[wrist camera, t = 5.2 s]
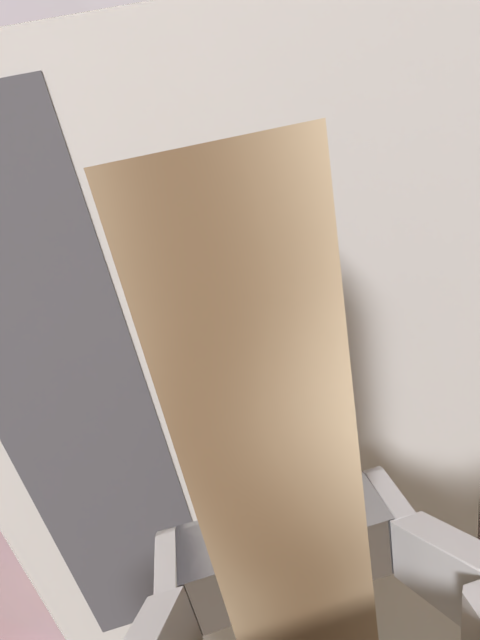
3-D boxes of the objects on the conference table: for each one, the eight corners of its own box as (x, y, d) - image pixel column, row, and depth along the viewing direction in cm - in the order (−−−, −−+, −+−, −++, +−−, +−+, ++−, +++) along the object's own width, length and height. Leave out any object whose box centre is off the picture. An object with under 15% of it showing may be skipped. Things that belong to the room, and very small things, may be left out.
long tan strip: (256, 139, 9) (325, 117, 5) (338, 641, 15) (393, 789, 12) (118, 169, 8) (83, 168, 5) (264, 667, 15) (296, 826, 11)
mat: (493, -55, 11) (506, -63, 11) (465, 700, 25) (470, 709, 25) (-256, 78, 9) (-275, 74, 9) (171, 807, 24) (172, 818, 23)
